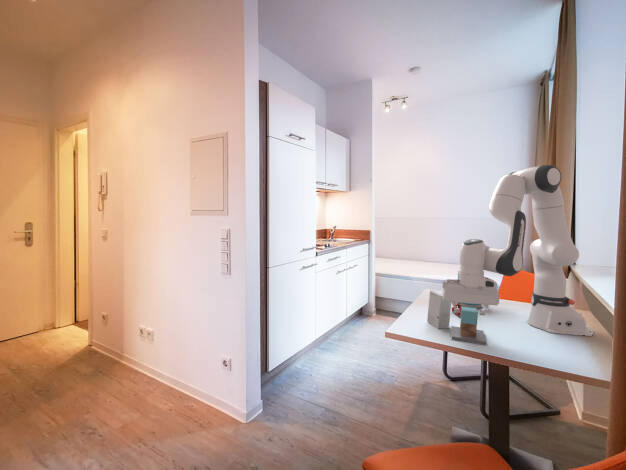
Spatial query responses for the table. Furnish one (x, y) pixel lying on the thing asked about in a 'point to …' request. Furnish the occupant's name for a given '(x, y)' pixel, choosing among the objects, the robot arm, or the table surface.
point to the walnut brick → (468, 329)
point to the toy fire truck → (459, 309)
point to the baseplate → (478, 339)
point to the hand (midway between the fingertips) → (469, 313)
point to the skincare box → (438, 310)
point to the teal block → (469, 315)
